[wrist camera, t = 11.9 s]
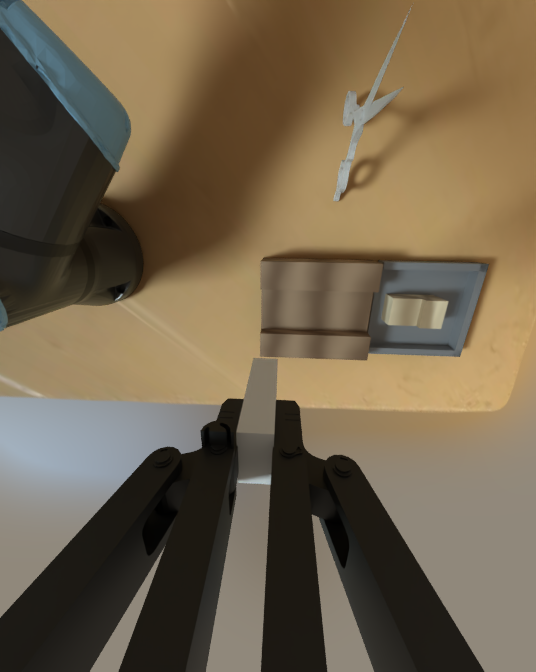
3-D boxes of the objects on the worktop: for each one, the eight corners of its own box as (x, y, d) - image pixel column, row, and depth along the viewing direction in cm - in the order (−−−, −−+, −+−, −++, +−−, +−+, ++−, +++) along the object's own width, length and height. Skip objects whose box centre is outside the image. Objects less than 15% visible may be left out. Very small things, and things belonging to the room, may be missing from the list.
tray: (364, 347, 44) (368, 353, 42) (378, 260, 39) (384, 262, 36) (450, 349, 43) (459, 356, 41) (476, 262, 38) (488, 264, 36)
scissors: (341, 107, 33) (421, -87, 14) (347, 107, 33) (436, -88, 14) (333, 201, 36) (389, 148, 17) (339, 201, 36) (401, 148, 17)
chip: (419, 328, 37) (441, 328, 37) (426, 300, 36) (448, 301, 36) (407, 319, 41) (426, 320, 41) (412, 294, 40) (432, 294, 40)
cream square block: (381, 318, 41) (388, 325, 39) (385, 293, 40) (393, 298, 37) (407, 319, 41) (416, 326, 38) (412, 294, 40) (422, 299, 37)
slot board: (262, 343, 45) (260, 356, 40) (263, 257, 39) (260, 261, 35) (358, 346, 44) (367, 360, 39) (371, 260, 39) (383, 263, 34)
